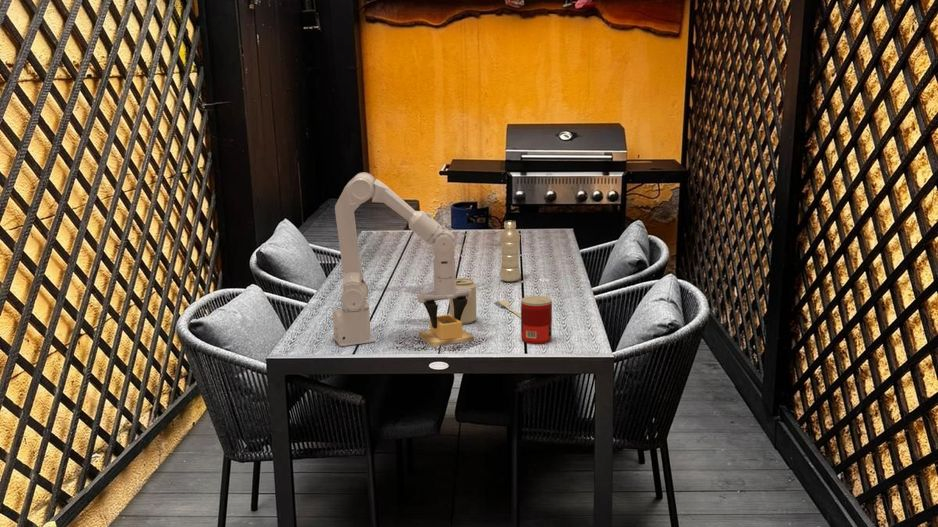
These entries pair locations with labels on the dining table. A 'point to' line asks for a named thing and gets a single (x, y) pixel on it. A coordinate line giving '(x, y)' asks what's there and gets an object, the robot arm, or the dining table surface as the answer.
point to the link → (447, 327)
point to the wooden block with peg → (436, 341)
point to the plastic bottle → (510, 252)
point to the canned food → (536, 319)
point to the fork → (506, 304)
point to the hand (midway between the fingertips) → (445, 325)
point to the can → (470, 308)
